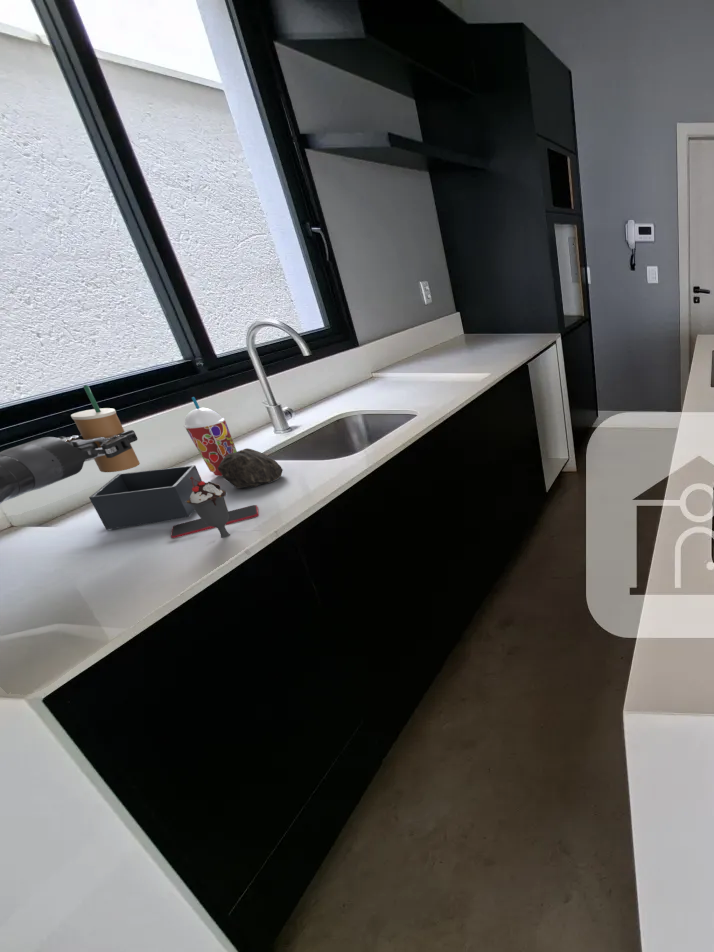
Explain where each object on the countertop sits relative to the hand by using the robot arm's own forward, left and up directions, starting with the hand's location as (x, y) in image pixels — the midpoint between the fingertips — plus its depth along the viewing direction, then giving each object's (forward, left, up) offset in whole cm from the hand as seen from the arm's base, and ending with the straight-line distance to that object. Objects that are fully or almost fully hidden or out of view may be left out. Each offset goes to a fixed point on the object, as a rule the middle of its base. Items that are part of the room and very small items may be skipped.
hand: (116, 435), depth 114 cm
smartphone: (+12, -7, -20) cm, 24 cm away
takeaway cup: (-1, -2, -6) cm, 6 cm away
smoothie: (+6, +29, -20) cm, 36 cm away
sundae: (+16, -17, -20) cm, 31 cm away
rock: (+15, +16, -20) cm, 30 cm away
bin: (-2, +7, -20) cm, 21 cm away
